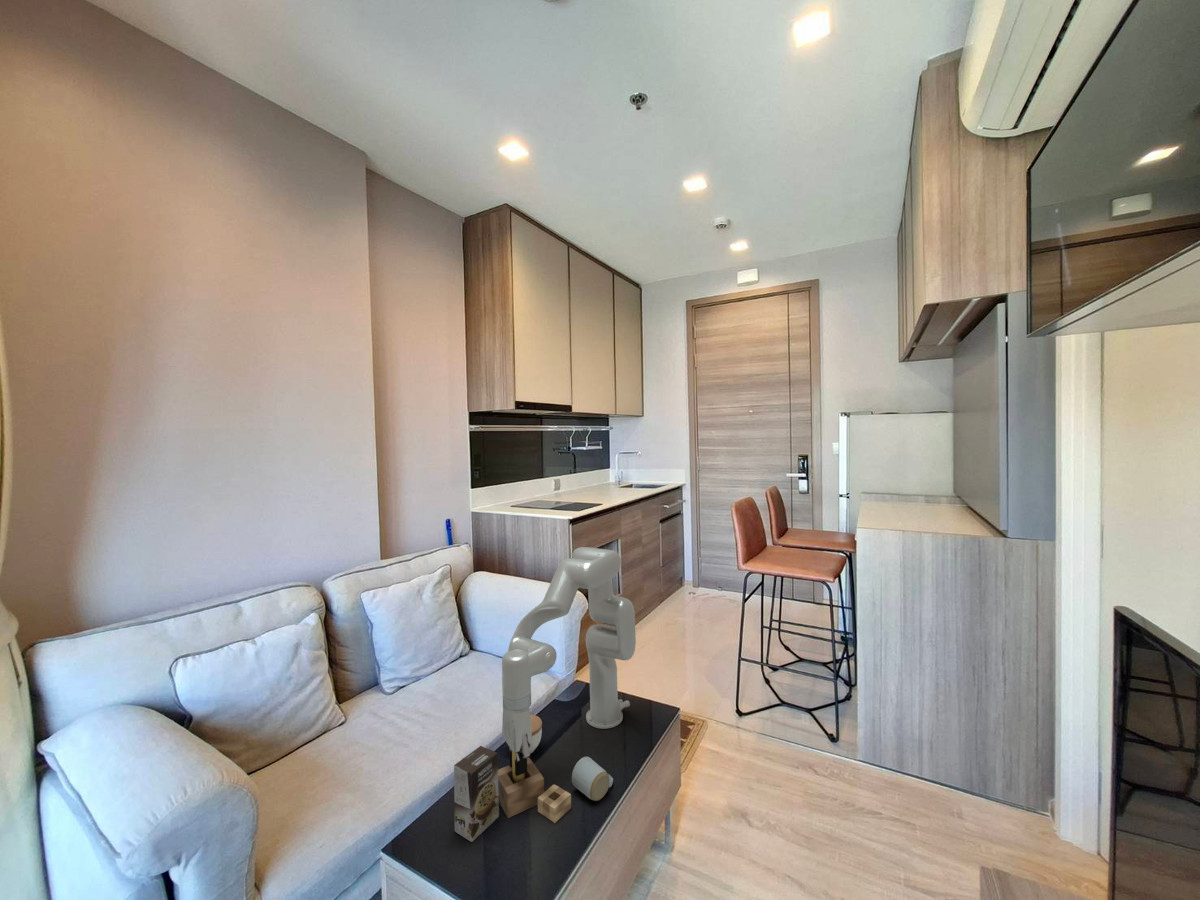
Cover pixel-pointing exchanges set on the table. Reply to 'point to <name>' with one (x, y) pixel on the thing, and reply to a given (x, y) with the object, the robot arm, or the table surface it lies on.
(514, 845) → the table surface
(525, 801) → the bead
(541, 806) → the loose bead
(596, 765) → the ceramic mug
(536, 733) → the lidded jar
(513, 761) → the tan cylindrical rod
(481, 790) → the coffee box
